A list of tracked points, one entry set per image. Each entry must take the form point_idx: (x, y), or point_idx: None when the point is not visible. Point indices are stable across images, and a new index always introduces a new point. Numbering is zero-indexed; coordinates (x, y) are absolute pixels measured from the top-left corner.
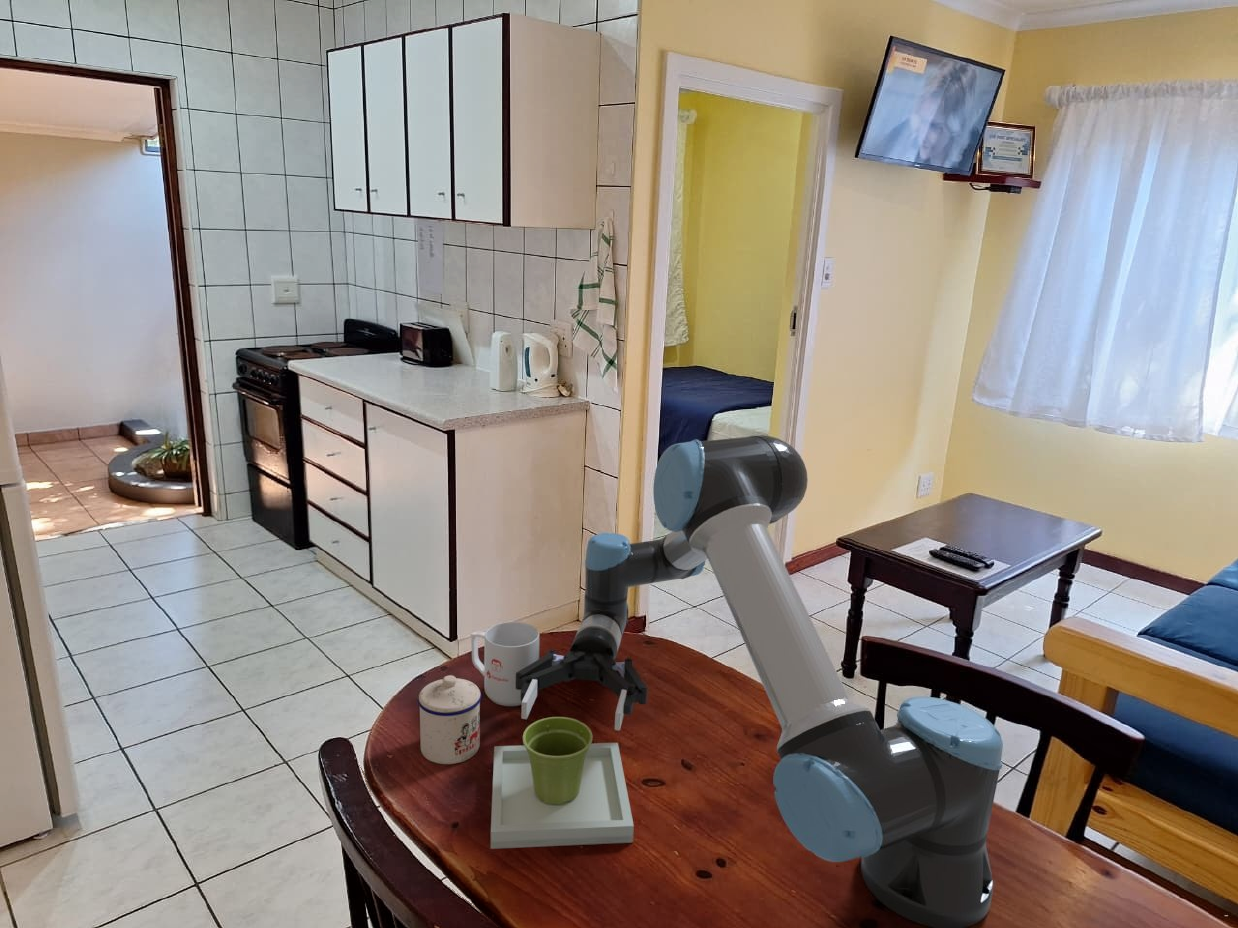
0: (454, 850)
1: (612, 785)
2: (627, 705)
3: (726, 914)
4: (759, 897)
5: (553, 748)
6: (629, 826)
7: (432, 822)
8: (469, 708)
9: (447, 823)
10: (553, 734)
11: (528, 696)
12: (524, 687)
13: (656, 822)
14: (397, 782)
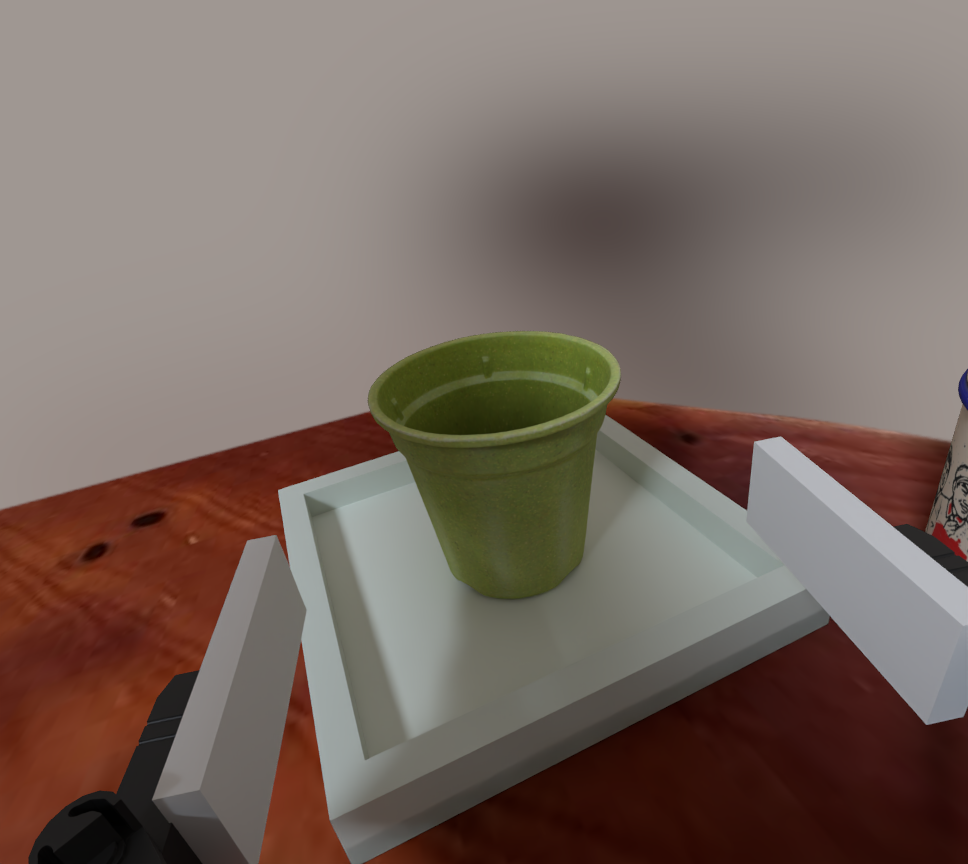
0: (637, 410)
1: (349, 632)
2: (194, 672)
3: (138, 476)
4: (56, 516)
5: (553, 512)
6: (288, 487)
7: (737, 428)
8: (965, 392)
9: (707, 435)
10: (553, 467)
11: (796, 472)
12: (961, 571)
13: (223, 594)
14: None
